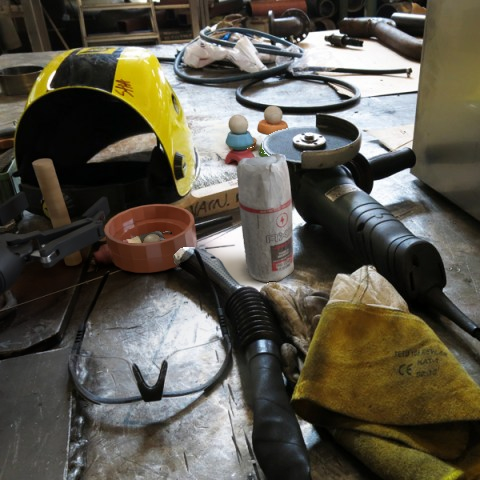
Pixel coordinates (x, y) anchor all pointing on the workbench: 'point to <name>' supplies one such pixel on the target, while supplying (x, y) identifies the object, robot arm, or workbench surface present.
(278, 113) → the multicoloured wooden toy
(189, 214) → the bowl
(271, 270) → the spray can
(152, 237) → the bead
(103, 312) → the workbench surface
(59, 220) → the stick
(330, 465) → the workbench surface
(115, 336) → the workbench surface
